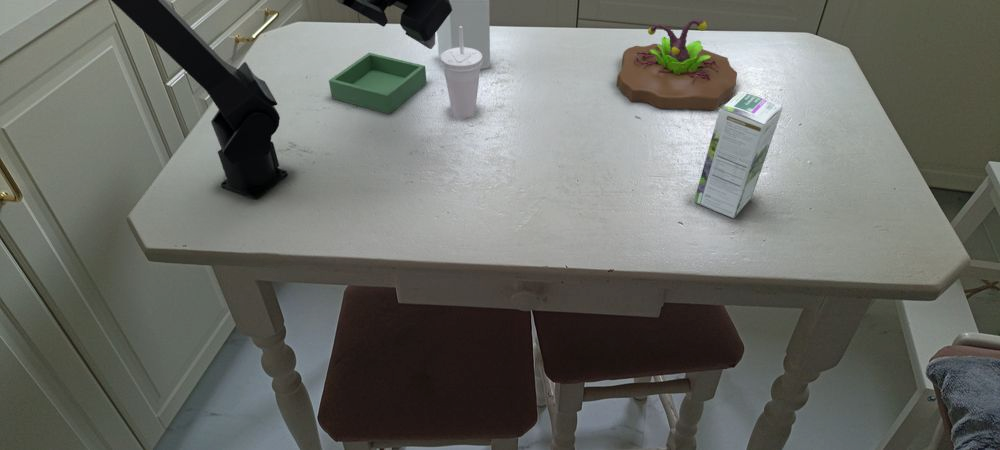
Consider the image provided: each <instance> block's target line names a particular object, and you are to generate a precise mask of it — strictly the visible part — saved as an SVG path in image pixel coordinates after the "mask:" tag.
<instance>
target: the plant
mask: <svg viewBox="0 0 1000 450" xmlns="http://www.w3.org/2000/svg"><path fill="white" fill-rule="evenodd" d="M694 24H695V25H696V27H697V29H698V30H699V31H701V32H702V31H706V29H708V24H707V22H706V21H705V20H703V19H699V18H693V19H692V20H690V21H689V22H688V23H687V24H686V25H684V28H682V30H681V33H680V36H679V37H677V36H676V35H675V32H674V31H673V30H671V29H672V28H669V27H668V26H666V25H664V24H655V25H651V26H650V27H649V28H648V29H647V33H648V34H649V35H650V36H652V35H654V34H656V31H657V29H661V30H663V31H665V32H666V33H667V36H668V37H669V38H667V37H666V36H663V37H661V43H652V44H649V45H643V46H641V45H634V46H631V47H628V48H627V49H625V50H624V51H623V53H622V57H621V58H622V59H621V69H620V71H619V72H618V73H617V77H616V86H617V87H618V88H619V90H620V92H621V93H622V94H623V95H624V96H626V97H627V98H628V99H629V101H630V102H640V103H647V104H649V105H651V106H654V107H655V108H658V109H673V110H676V109H677V110H681V109H682V110H703V111H704V110H705V111H715V110H716V109H718V108H719V106H721V105H722V104H723V103H724V102H728V101H730V100H731V99H732V97H733V95H734V92H735V89H736V83H737V77H738V72H737V71H736V70H735V69H734V68H732V66H731V65H730V61H729V58H728V57H726V56H724V55H720V54H717V53H715V52H712V51H709V50H707V49H704V46H703V45H702V41H701V40H694V41H692V42H690V43H689V44H687V37H688V33H689V30H690V28H691V26H692V25H694ZM686 44H687V45H686Z"/></svg>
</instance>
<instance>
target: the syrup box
mask: <svg viewBox="0 0 1000 450" xmlns="http://www.w3.org/2000/svg"><path fill="white" fill-rule="evenodd" d="M783 109H784V107H783V106H782V105H781V104H778V103H776V102H774V101H772V100H770V99H767V98H765V97H762V96H759V95H756V94H753V93H749V92H745V91H738V92H737V93H736V94H735V95H734V96H732V97H731V98H730V99H729V100H728V101H727V102H726V103H725V104H724V105H723V106H722V107H721V108H719V111H718V112H717V113H718V114H717V118H716V121H715V125H714V128H713V132H712V134H711V135H712V136H711V138H710V142H709V146H708V150H707V153H706V157H705V160H704V164H703V167H702V170H701V171H702V172H701V174H700V178H699V182H698V185H697V189H696V193H695V196H694V200H693V201H694V203H696V204H698V205H700V206H703V207H705V208H708V209H709V210H712V211H713V212H716V213H720V214H721V215H723V216H727V217H730V218H731V219H735V218H736V217H737V216H738V214H739V213H740V212H741V211H742V209H744V207H745V206H746V205H747V204H748V203H749V201H750V200H751V199H752V198H753V195H754V192H755V189H756V186H757V185H758V181H759V178H760V175H761V172H762V169H763V166H764V164H765V160H766V158H767V155H768V152H769V149H770V146H771V143H772V140H773V137H774V135H775V132H776V129H777V126H778V123H779V119H780V118H781V114H782V112H783Z"/></svg>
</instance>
